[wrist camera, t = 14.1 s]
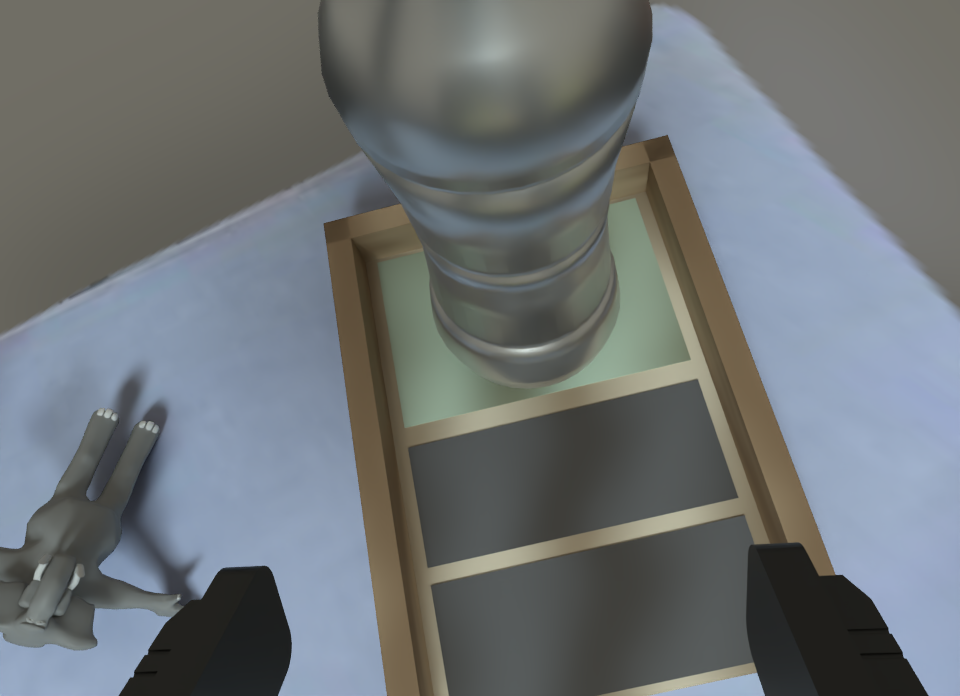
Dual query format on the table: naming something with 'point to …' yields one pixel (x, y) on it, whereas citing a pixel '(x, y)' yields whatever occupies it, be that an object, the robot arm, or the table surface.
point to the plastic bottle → (499, 160)
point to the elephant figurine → (76, 549)
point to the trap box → (565, 471)
